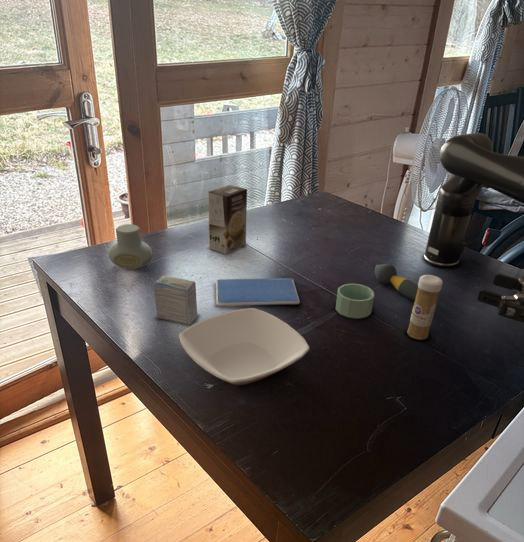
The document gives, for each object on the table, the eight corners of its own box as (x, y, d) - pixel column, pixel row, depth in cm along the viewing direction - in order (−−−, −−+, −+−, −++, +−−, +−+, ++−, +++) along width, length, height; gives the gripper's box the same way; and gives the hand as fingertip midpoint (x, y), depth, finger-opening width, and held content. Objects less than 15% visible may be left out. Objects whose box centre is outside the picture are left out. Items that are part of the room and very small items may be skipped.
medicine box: (197, 316, 114) (196, 281, 109) (189, 325, 111) (187, 290, 106) (166, 309, 116) (163, 274, 111) (156, 318, 113) (153, 283, 108)
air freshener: (155, 258, 138) (152, 222, 132) (150, 272, 131) (147, 235, 125) (114, 257, 137) (109, 221, 132) (107, 271, 131) (101, 234, 125)
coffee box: (226, 254, 141) (226, 197, 132) (208, 248, 144) (207, 191, 135) (246, 244, 148) (247, 188, 138) (229, 238, 150) (229, 183, 141)
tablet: (216, 308, 117) (216, 303, 117) (215, 282, 128) (215, 277, 127) (300, 306, 119) (300, 302, 118) (292, 281, 129) (292, 277, 129)
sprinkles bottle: (403, 335, 111) (415, 279, 103) (412, 326, 114) (425, 271, 106) (422, 343, 108) (437, 286, 101) (432, 334, 111) (446, 278, 104)
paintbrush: (440, 304, 123) (445, 285, 120) (427, 310, 120) (431, 291, 117) (377, 273, 135) (380, 256, 132) (364, 278, 132) (367, 260, 130)
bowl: (167, 354, 102) (165, 332, 99) (254, 322, 113) (255, 301, 110) (228, 414, 88) (228, 391, 85) (321, 371, 99) (324, 348, 96)
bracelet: (347, 297, 124) (350, 280, 121) (377, 308, 120) (380, 291, 117) (328, 309, 119) (330, 292, 116) (359, 322, 115) (362, 304, 112)
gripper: (598, 281, 90) (504, 255, 98) (581, 312, 81) (479, 281, 89) (582, 318, 95) (493, 290, 103) (564, 351, 85) (468, 318, 93)
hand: (486, 286), depth 96 cm, fingers open, 8 cm apart
